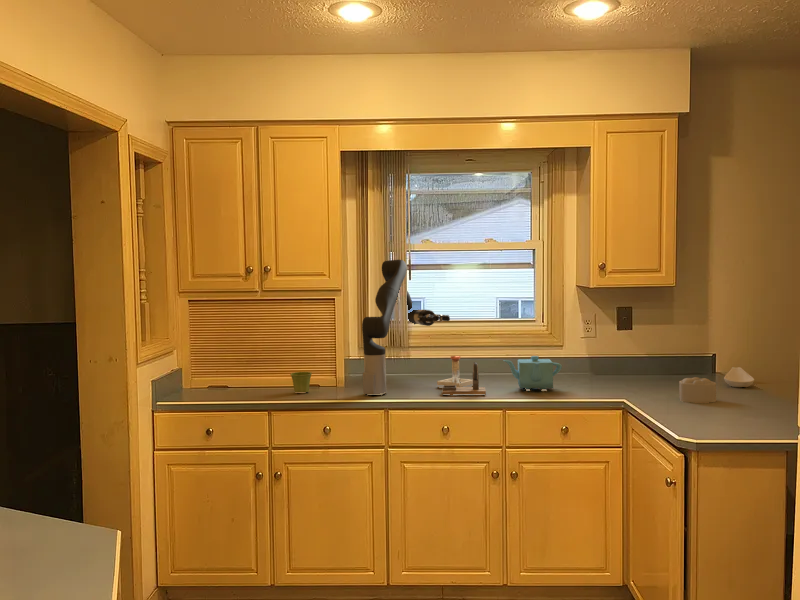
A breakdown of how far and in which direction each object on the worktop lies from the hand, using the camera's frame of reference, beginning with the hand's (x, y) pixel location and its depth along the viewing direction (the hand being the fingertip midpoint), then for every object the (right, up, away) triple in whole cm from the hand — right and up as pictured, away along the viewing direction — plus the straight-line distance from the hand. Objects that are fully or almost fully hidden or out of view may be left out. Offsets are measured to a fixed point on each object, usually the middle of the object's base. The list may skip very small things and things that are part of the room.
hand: (440, 319), depth 329 cm
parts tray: (+6, -30, -8) cm, 32 cm away
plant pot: (-62, -32, -15) cm, 71 cm away
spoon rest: (+128, -28, -16) cm, 133 cm away
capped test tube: (+6, -29, -8) cm, 31 cm away
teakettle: (+39, -30, -19) cm, 53 cm away
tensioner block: (+8, -31, -26) cm, 41 cm away
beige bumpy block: (+97, -30, -51) cm, 114 cm away
